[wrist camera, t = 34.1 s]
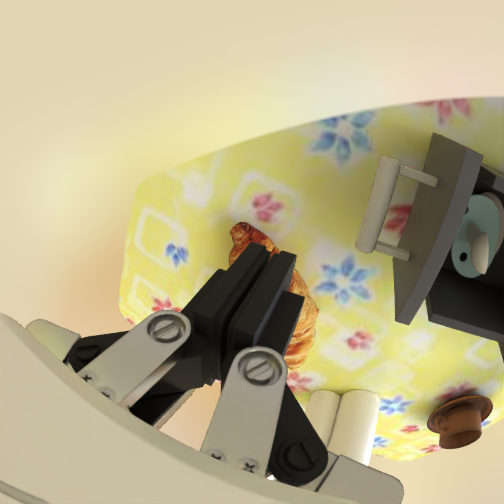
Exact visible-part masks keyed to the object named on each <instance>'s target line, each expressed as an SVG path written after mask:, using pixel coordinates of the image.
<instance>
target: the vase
mask: <svg viewBox="0 0 504 504" xmlns="http://www.w3.org/2000/svg"><path fill="white" fill-rule="evenodd" d="M379 405H380V399H379V397H378V396H377V395H376V394H375V393H373V392H371V391H366V390H352V391H349V392H346V393H345V394H344V395H342V397H340V395H338V394H337V393H335V392H332V391H327V390H319V391H315V392H313V393H312V394H311V397H310V400H309V403H308V405H307V408H306V411H305V414H306V416H307V418H308V419H309V421H310V422H311V424H312V426H313V427H314V429H315V430H316V432H317V434H318V435H319V437H320V438H321V440H322V442H323V443H324V445H325V447H326V449H327V450H328V451H330V452H332V453H334V454H336V455H340V454H342V455H344V456H346V457H348V458H351V459H353V460H355V461H357V462H360V463H362V464H364V465H366V466H368V464H369V460H370V455H371V450H372V446H373V441H374V435H375V430H376V424H377V418H378V412H379Z"/></svg>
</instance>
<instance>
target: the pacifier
mask: <svg viewBox="0 0 504 504" xmlns="http://www.w3.org/2000/svg"><path fill="white" fill-rule="evenodd" d="M503 238H504V208H503V206H502V203H501V201H500V200H499V198H498V197H497V196H496V195H495V194H493V193H491V192H484V193H481V194H472V195H471V198H470V200H469V203H468V209H466V211H465V214H464V217H463V219H462V222H461V224H460V227H459V229H458V231H457V234H456V236H455V239H454V241H453V244H452V260H453V264H454V266H455V268H456V270H457V271H458V272H459V273H460V274H461V275H462V276H464V277H467V278H473V277H477V276H479V275H480V274H485V273H486V270H487V268H488V267H489V265H490V264H491V262H492V260H493V257H494V255H495V254H496V253H497V251H498V250H499V248H500V246H501V244H502V241H503ZM463 252H465V253H467V258H466V260H465V261H460V255H461V253H463Z"/></svg>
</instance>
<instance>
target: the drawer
mask: <svg viewBox="0 0 504 504" xmlns="http://www.w3.org/2000/svg"><path fill="white" fill-rule="evenodd" d="M482 159H483V155H481V154H479V153H477V152H475V151H473V150H471V149H469V148H467V147H465V146H463V145H461V144H459V143H457V142H455V141H453V140H450V139H448V138H446V137H443V136H441V135H439V134H436V133H433V135H432V139H431V143H430V147H429V151H428V155H427V159H426V163H425V166H424V170H423V172H420V171H418V170H415V169H412V168H409V167H406V166H404V165H401V162H400V161H398V160H396V159H394V158H391V157H388V156H384V155H381V156H380V159H379V163H378V167H377V171H376V175H375V179H374V183H373V187H372V190H371V194H370V198H369V201H368V205H367V208H366V211H365V215H364V218H363V221H362V225H361V228H360V231H359V234H358V237H357V240H356V244H355V246H356V248H357V249H358V250H360V251H361V252H364V253H372V252H373V251H374V250H375V251H378V252H381V253H384V254H387V255H390V256H393V271H394V291H395V321H396V322H399V323H403V324H406V325H410V323H411V321H412V320H413V318H414V316H415V315H416V313H417V311H418V310H419V308H420V306H421V304H422V303H423V301H424V299H425V300H426V307H427V313H428V321H430V322H433V323H436V324H440V325H443V326H446V327H450V328H453V329H456V330H460V331H463V332H467V333H470V334H473V335H477V336H480V337H483V338H487V339H490V340H494V341H497V342H501V343H504V238H503V241H502V244H501V246H500V248H499V250H498V251H497V253H496V254H495V255H494V257H493V260H492V262H491V264H490V265H489V267H488V268H487V270H486V273H485V274H480V275H479V276H477V277H473V278H467V277H464V276H462V275H461V274H460V273H459V272H458V271H457V270H456V268H455V266H454V264H453V260H452V244H453V241H454V239H455V236H456V234H457V231H458V229H459V227H460V224H461V222H462V219H463V217H464V214H465V211H466V209H468V203H469V200H470V198H471V195H472V194H481V193H484V192H491V193H493V194H495V195H496V196H497V197H498V198H499V200H500V201H501V203H502V206H503V208H504V174H503V173H501V172H499V171H498V170H496V169H494V168H492V167H490V166H488V165H486V164H484V163H482ZM398 173H399V174H400V175H403V176H406V177H409V178H412V179H414V180H417V181H420V184H419V187H418V190H417V193H416V196H415V200H414V203H413V206H412V209H411V212H410V214H409V217H408V220H407V223H406V226H405V228H404V231H403V234H402V236H401V239H400V242H399V244H398V247H395V246H392V245H389V244H386V243H383V242H380V241H377V240H378V237H379V234H380V231H381V228H382V226H383V223H384V220H385V217H386V213H387V210H388V207H389V204H390V201H391V197H392V194H393V191H394V187H395V184H396V180H397V177H398ZM466 258H467V253H465V252H463V253H461V255H460V261H465V260H466Z"/></svg>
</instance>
